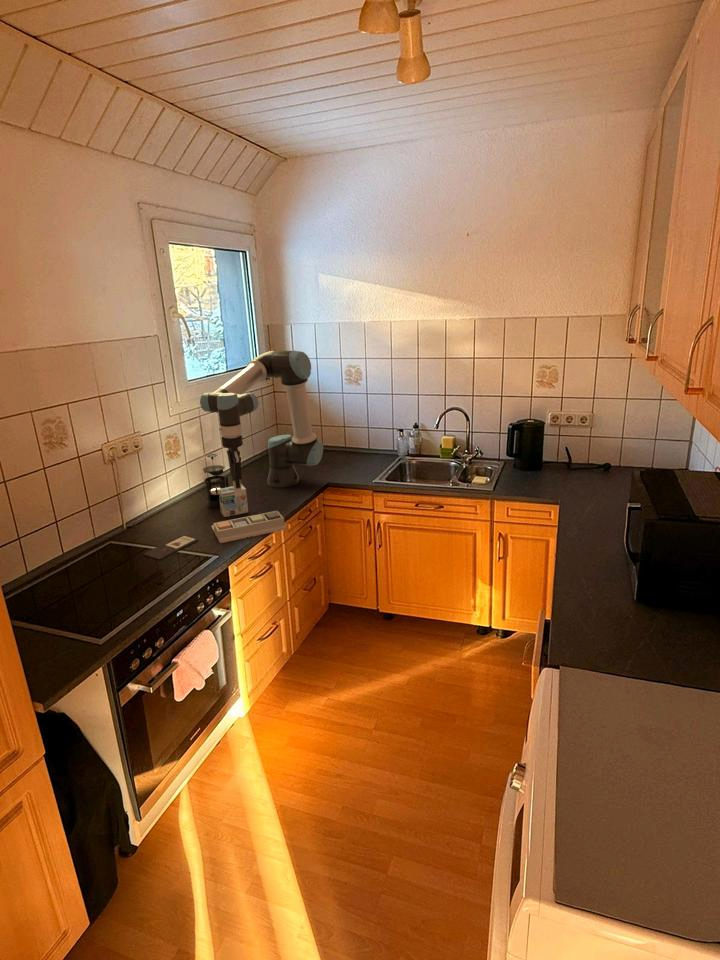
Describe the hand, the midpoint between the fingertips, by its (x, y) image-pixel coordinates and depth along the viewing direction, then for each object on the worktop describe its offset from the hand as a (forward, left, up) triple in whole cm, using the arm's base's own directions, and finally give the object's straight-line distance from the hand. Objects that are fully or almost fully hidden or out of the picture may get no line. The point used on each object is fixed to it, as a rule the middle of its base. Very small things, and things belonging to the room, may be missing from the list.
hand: (238, 495), depth 215 cm
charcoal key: (-13, 0, -12) cm, 18 cm away
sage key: (-6, 0, -12) cm, 14 cm away
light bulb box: (-2, -21, -16) cm, 26 cm away
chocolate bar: (+27, +2, -16) cm, 32 cm away
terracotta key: (+7, 0, -12) cm, 14 cm away
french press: (+2, -34, -15) cm, 38 cm away
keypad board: (-3, -1, -15) cm, 16 cm away
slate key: (0, 0, -14) cm, 14 cm away
